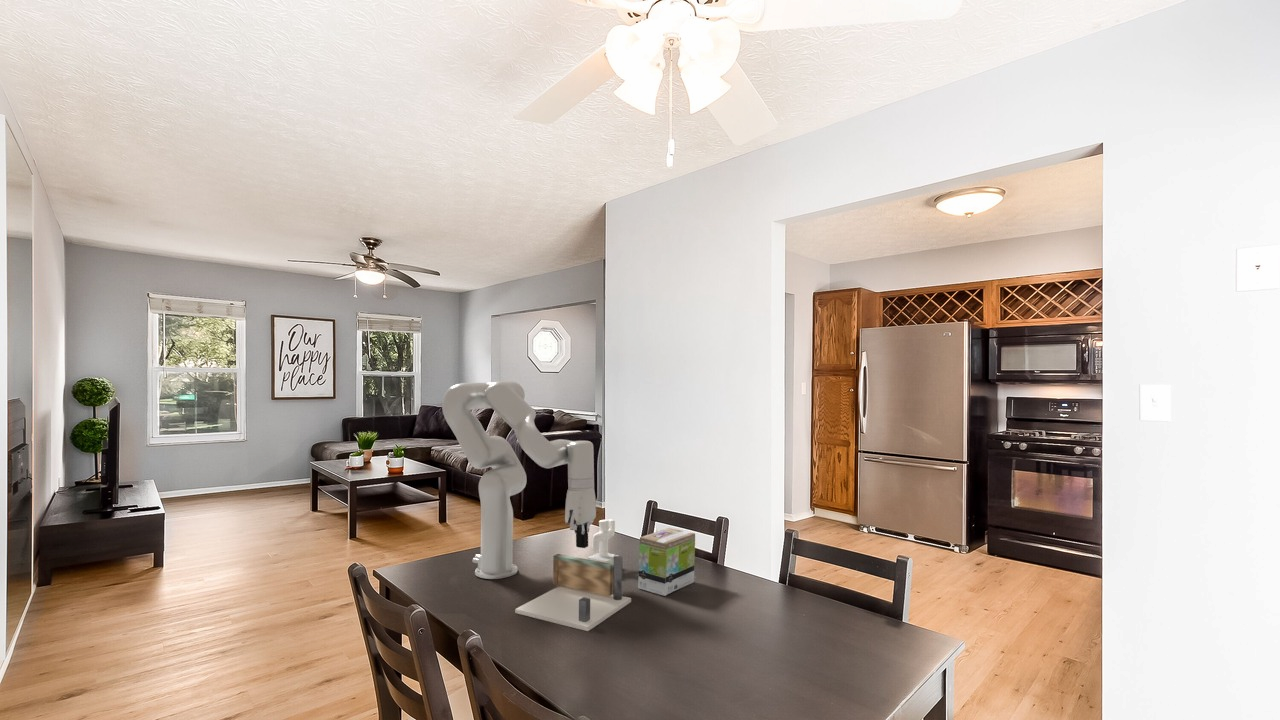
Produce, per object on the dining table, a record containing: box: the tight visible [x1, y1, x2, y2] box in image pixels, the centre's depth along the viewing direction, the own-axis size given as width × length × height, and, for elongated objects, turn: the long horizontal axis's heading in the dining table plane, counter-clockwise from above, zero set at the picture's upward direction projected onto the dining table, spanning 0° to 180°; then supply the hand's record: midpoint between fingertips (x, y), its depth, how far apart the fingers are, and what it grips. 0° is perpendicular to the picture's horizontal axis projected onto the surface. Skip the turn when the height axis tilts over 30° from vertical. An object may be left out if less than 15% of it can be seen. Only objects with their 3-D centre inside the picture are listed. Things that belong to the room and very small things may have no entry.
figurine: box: [587, 519, 620, 564], centre depth 187 cm, size 7×9×15 cm
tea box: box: [637, 527, 696, 597], centre depth 172 cm, size 15×10×15 cm, turn 143°
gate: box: [552, 553, 613, 596], centre depth 164 cm, size 18×2×8 cm, turn 62°
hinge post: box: [579, 555, 623, 622], centre depth 152 cm, size 2×18×12 cm, turn 152°
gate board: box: [514, 585, 632, 632], centre depth 155 cm, size 22×21×1 cm
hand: (582, 546), depth 173 cm, fingers closed
